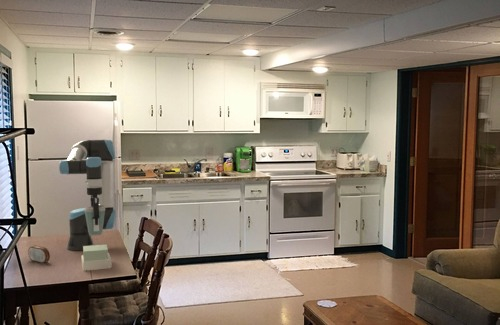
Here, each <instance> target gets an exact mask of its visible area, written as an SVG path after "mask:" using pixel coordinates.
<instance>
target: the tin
mask: <svg viewBox="0 0 500 325" xmlns="http://www.w3.org/2000/svg"><path fill="white" fill-rule="evenodd" d="M27 252H28V257H29V259H30V260H31V261H32V262H35V263H36V262H37V263H41V264H43V263H48V262H49V260H50V258H51V254H50V251H49V249H48V248H47V247H45V246H40V245H36V244H35V245H31V246H30V247H29V248H28V250H27Z"/></svg>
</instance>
